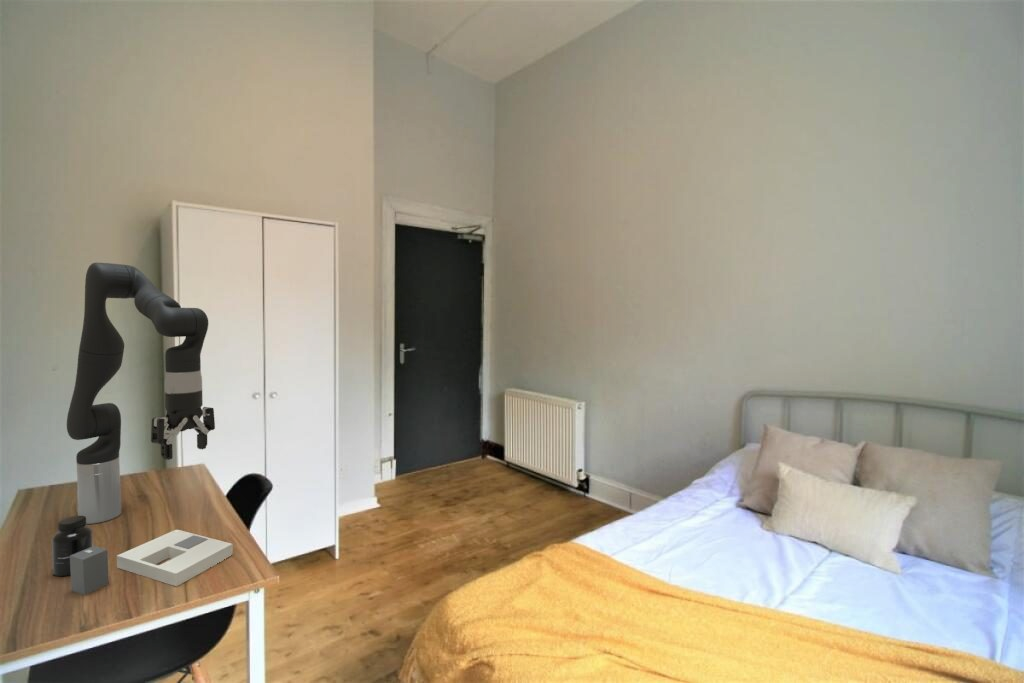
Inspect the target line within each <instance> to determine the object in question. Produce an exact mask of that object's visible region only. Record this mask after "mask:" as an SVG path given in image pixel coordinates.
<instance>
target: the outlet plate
mask: <svg viewBox="0 0 1024 683" xmlns="http://www.w3.org/2000/svg"><path fill="white" fill-rule="evenodd" d="M233 551H234V550H233V543H230V542H227V541H223V540H220V539H215V538H211V537H207V536H204V535H199V534H196V533H191V532H188V531H184V530H181V529H175V530H172V531H169V532H168V533H165V534H162V535H160V536H157V537H156V538H154V539H153V538H152V540H149V541H147V542H145V543H142V544H140V545H138V546H136V547H134V548H131V549H129V550H126V551H124V552H122V553H119V554H117V555H116V568H117V569H121V570H124V571H127V572H130V573H133V574H136V575H139V576H142V577H145V578H147V579H148V578H149V579H152V580H155V581H158V582H162V583H165V584H167V585H171V586H174V587H179V586H180V585H182V584H183V583H186V582H188V581H189V580H191V579H192V578H194V577H196V576H198V575H200V574H202V573H203V572H205V571H207V570H209V569H211V568H213V567H214V566H216V565H218V564H220V563H221V562H223V561H225V560H227V559H228V558H227V557H229V556H231V555H232V556H233V553H234V552H233ZM232 556H231V557H232ZM226 558H227V559H226ZM229 558H230V557H229ZM168 559H169V560H168ZM224 559H225V560H224ZM166 560H167V561H166ZM163 561H165V562H163ZM161 562H163V563H161ZM219 562H220V563H219ZM159 563H161V564H159ZM217 563H218V564H217ZM210 567H211V568H210Z"/></svg>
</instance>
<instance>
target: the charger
mask: <svg viewBox="0 0 1024 683" xmlns="http://www.w3.org/2000/svg"><path fill="white" fill-rule="evenodd" d="M70 571H71V575H70V589H71V592H74V593H77V594H79V595H81V596H86V595H88V594H91V593H92V592H95V591H97V590H99V589H101V588H103V587H106V586H107V585H109V560H108V549H106V548H103V547H101V546H96V545H92V547H90V548H88V549H85V550H83V551H80V552H78V553H75V554H73V555H70Z"/></svg>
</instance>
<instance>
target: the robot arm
mask: <svg viewBox="0 0 1024 683" xmlns="http://www.w3.org/2000/svg"><path fill="white" fill-rule="evenodd" d="M86 270H87V271H86V272H85V280H84V281H85V284H84V311H83V312H84V313H83V314H84V315H83V323H82V331H81V337H80V342H79V348H78V356H77V367H76V375H75V383H74V388H73V393H72V395H71V401H70V404H69V408H68V413H67V417H66V431H67V434H68V436H69V437H70V438H71V439H72V440H75V441H80V440H81V441H82V440H89V439H92V438H97V439H96V440H95V441H94V442H93V443H91V444H90V445H88V446H86V447H85V448H82V449H81V450H79V451H78V452H77V453H76V455H75V456H76V459H75V460H76V461H75V462H76V478H77V486H76V496H77V497H76V498H77V499H76V500H77V516H85V517H86V523H87V524H86V525H91V524H93V525H94V524H98V523H103V522H108V521H110V520H113V519H115V518H118V517H119V516H120V515H121V514H122V496H121V495H122V494H121V493H122V492H121V470H120V469H121V468H120V467H121V466H120V450H121V444H122V443H121V440H122V439H121V437H122V436H121V434H122V415H121V411H120V409H119V407H118V406H117V405H116V404H114V403H112V402H106V403H98V404H94V401H95V399H96V397H97V396H98V394H99V393H100V391H101V390H103V388H104V387H105V386H106V385H107V384H108V383H109V382H110V381H111V380H112V378H113V377H114V376H115V375H116V374H117V373H118V371H119V370H120V369H121V367H122V363H123V360H124V359H123V358H124V352H125V342H124V339H123V337H122V335H121V334H120V333H119V331H118V330H117V328H116V327H115V326H114V325H113V323H112V321H111V320H110V317H109V316H108V314H107V313H108V312H107V306H106V304H107V303H106V302H107V299H134V300H133V302H134V306H135V308H136V310H137V311H138V313H140V314H141V315H143V316H144V317H146V318H147V319H148V320H150V321H151V322H152V324H153V326H154V329H155V330H156V332H157V333H158V334H159V335H161V336H164V337H168V338H179V337H180V338H181V337H182V338H183V337H184V340H183V342H182V343H181V344H179V345H175V346H172V347H169V348H167V349H166V350H165V354H164V357H165V360H164V361H165V364H164V365H165V366H164V367H165V375H164V409H165V411H166V415H165V416H164V417H152V419H151V431H150V433H151V435H150V436H151V437H150V442H151V443H152V444H158V445H160V456H161V457H162V458H163V460H166V461H167V460H168V461H170V460H172V459H173V444H172V442H173V441H174V439H175V437H177V436H178V435H179V434H180V433H181V432H185V431H187V430H194V431H196V433H197V434H196V447H197V449H199V450H205V449H206V448H207V446H208V434H209V432H211V431H214V430H215V429H216V424H215V423H216V422H215V410H214V408H213V407H207V406H204V407H203V376H202V371H201V368H202V366H201V353H202V349H203V346H204V342H205V338H206V336H207V333H208V329H209V318H208V315H207V313H206V312H205V311H204V310H203V309H201V308H199V307H181V305H180V303H179V302H178V301H177V300H175V299H174V298H172V297H171V296H169V295H167V294H165V293H164V292H162V291H161V290H159V289H158V288H157V287H156V286H155V285H154V283H152V282H151V280H150V279H149V278H147V276H146V274H144V273H143V272H142V271H141V270H140V269H138V268H137V267H136V266H133V265H128V264H119V263H110V262H93V263H91V264H90V265H89V266H88V268H87V269H86ZM201 418H202V420H203V421H202V420H201Z"/></svg>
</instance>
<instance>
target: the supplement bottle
mask: <svg viewBox="0 0 1024 683" xmlns="http://www.w3.org/2000/svg"><path fill="white" fill-rule="evenodd" d="M87 525H88V524H87V523H86V517H85V516H78V515H73V516H69V517H65V518H63V519H61V520H59V521H58V522H57V532H56V533H55V534H54V535H53V537H52V540H51V545H52V547H51V548H52V550H51V552H52V573H53V575H55V576H56V577H57V576H58V577H66V576H71V571H70V555H73V554H75V553H78V552H80V551H83V550H85V549H88V548H90V547H92V546H93V530H92V528H91V527H89V526H87Z"/></svg>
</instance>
